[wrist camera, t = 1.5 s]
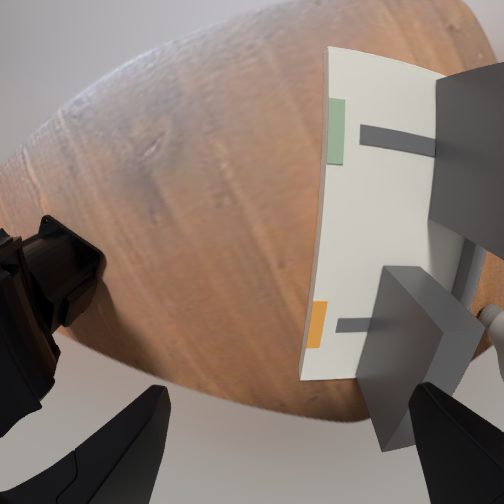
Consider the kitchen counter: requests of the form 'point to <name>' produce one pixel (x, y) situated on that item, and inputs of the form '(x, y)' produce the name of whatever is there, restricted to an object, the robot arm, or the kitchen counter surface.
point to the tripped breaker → (412, 348)
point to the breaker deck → (375, 204)
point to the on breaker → (471, 156)
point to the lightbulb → (495, 330)
